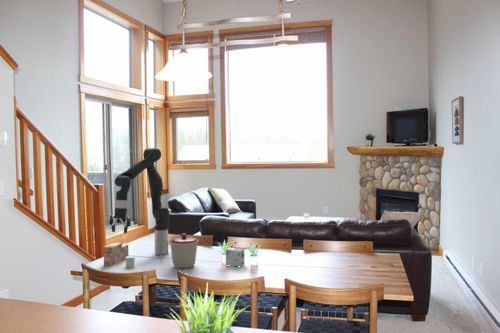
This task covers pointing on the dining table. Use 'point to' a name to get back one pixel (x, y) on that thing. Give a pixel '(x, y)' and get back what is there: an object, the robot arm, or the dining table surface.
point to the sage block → (130, 261)
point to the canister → (183, 251)
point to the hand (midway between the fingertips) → (119, 232)
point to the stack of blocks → (115, 253)
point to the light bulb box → (235, 257)
